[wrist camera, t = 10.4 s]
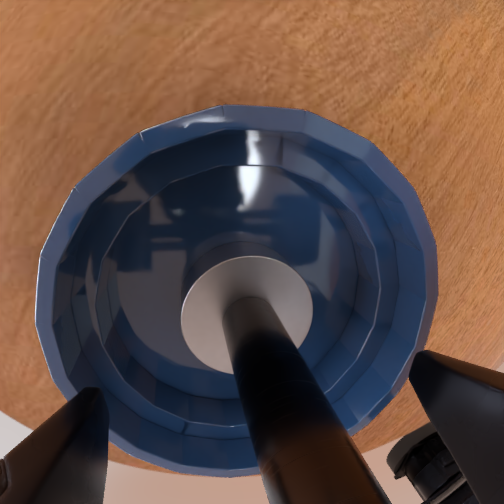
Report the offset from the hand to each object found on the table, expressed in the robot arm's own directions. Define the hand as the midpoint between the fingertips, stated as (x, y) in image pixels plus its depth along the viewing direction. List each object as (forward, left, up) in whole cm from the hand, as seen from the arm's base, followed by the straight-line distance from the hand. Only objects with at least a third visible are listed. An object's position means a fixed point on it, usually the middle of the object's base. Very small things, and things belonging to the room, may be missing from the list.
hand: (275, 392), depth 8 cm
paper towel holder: (0, 0, -6) cm, 6 cm away
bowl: (0, 0, -7) cm, 7 cm away
